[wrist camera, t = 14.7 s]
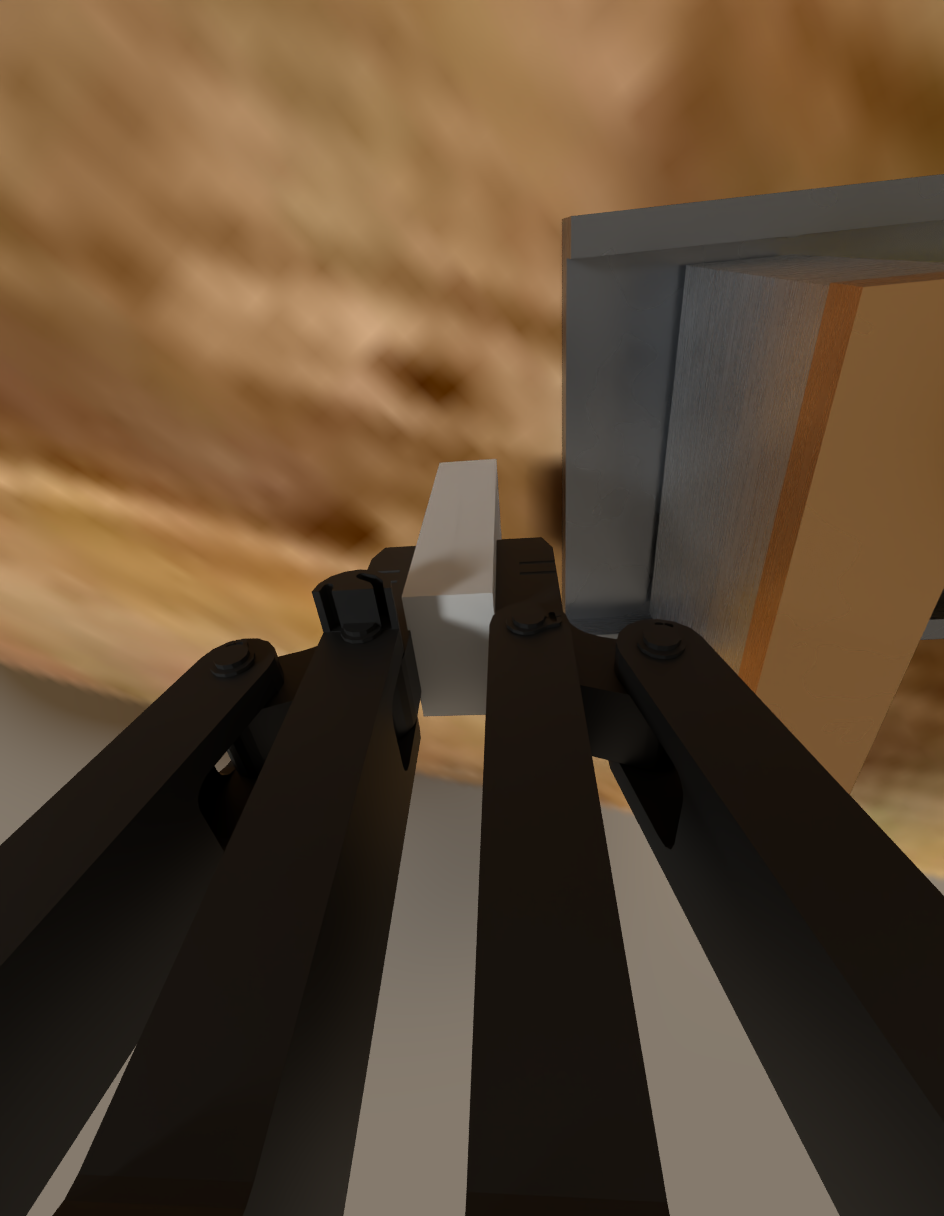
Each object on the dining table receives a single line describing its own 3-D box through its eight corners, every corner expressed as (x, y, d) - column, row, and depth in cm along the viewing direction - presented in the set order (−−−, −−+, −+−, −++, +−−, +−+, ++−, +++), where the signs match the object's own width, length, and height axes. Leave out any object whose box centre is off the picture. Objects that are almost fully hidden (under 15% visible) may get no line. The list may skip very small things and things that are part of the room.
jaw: (647, 612, 19) (724, 810, 12) (684, 263, 13) (863, 287, 7) (723, 608, 18) (843, 807, 12) (794, 251, 13) (1090, 265, 6)
